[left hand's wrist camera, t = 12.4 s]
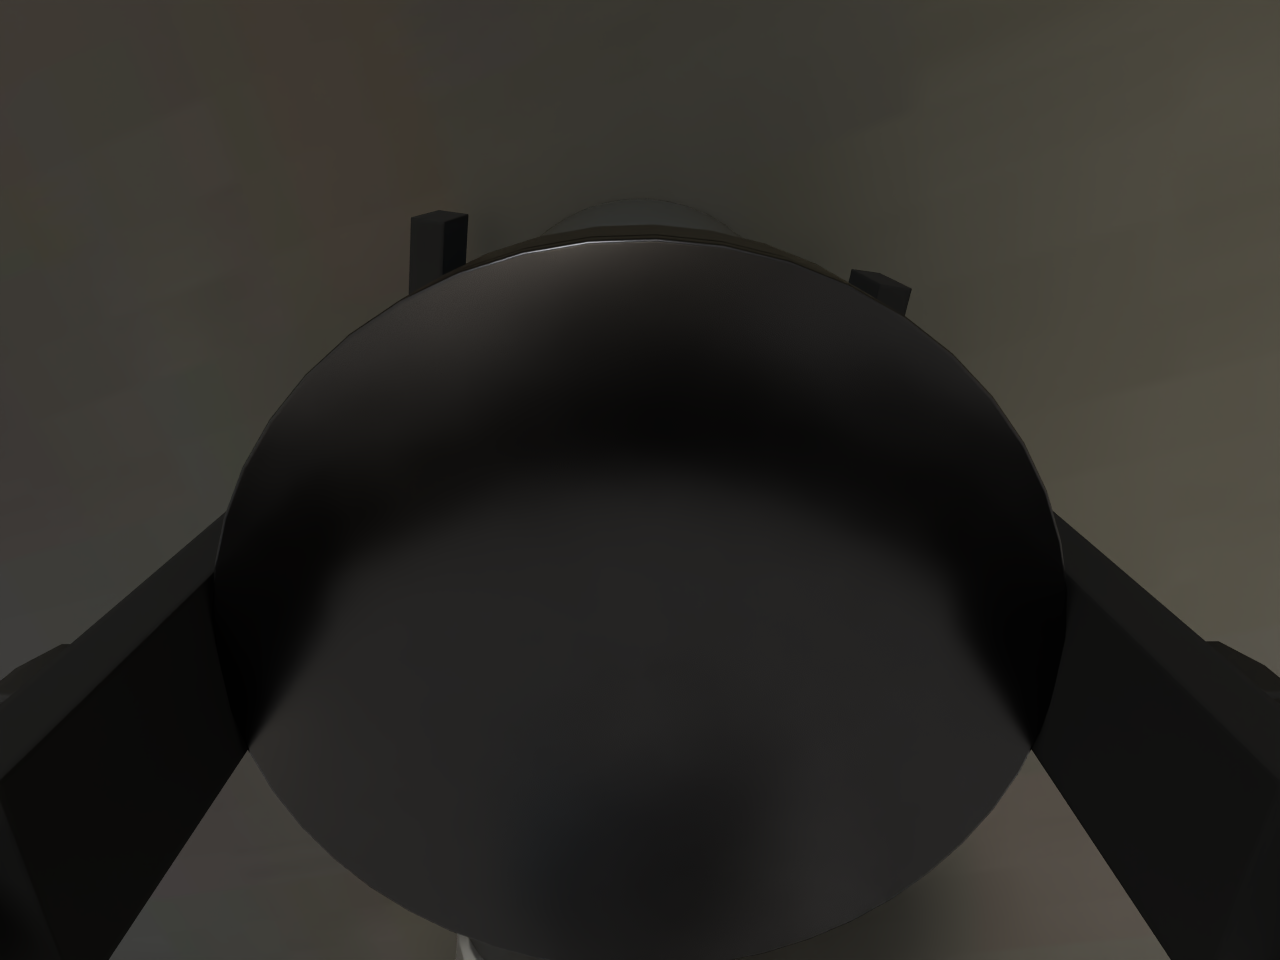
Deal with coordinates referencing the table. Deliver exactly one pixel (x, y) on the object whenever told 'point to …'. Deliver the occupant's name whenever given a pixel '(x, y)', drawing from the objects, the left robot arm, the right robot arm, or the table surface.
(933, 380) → the lid
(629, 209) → the screw-top jar
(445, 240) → the right robot arm
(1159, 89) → the table surface
